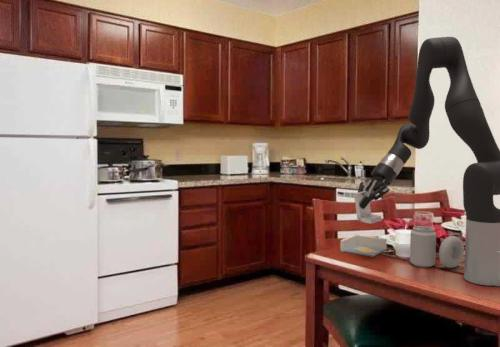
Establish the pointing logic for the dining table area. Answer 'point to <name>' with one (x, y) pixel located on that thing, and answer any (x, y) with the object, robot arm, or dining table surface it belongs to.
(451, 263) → the donut
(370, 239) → the walls
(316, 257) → the dining table surface
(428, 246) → the can
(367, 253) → the base plate
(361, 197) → the bracket
